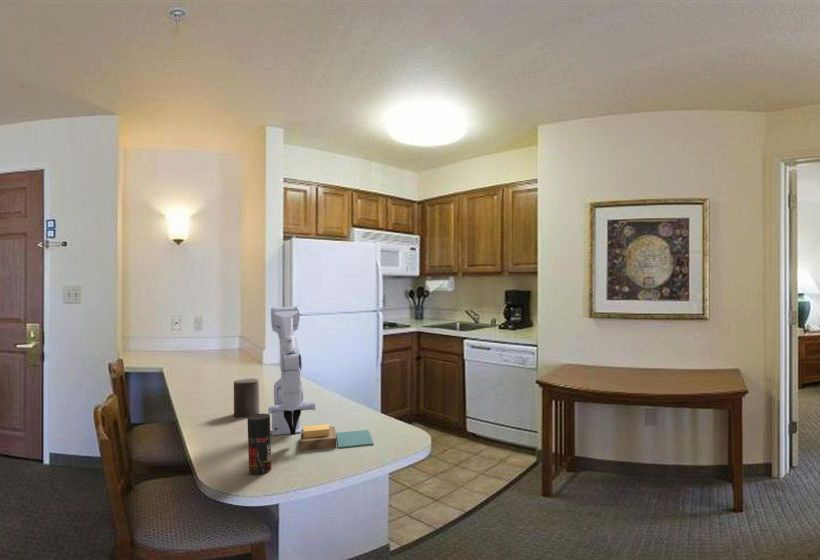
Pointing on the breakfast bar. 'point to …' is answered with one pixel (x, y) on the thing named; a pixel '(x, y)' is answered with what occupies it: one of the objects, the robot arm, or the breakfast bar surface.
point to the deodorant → (259, 444)
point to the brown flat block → (318, 441)
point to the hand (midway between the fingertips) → (293, 433)
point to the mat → (354, 439)
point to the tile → (316, 430)
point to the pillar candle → (246, 397)
